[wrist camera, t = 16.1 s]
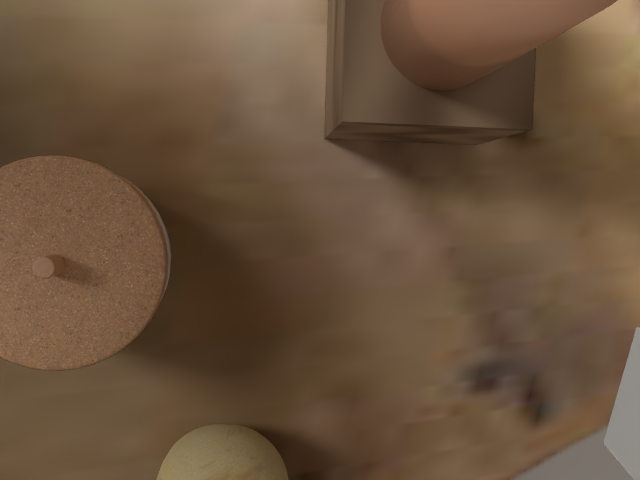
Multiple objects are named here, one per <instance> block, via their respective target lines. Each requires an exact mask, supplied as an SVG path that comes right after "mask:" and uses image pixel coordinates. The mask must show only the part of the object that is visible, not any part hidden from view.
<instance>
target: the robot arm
mask: <svg viewBox="0 0 640 480" xmlns="http://www.w3.org/2000/svg"><path fill="white" fill-rule="evenodd" d="M603 443H604V445H605V446H606V447H607V448H608V450H609V451H610V452H611V453H612V454H613V455H614V457H615V458H616V459H617V460H618V461H619V462H620V464H621V465H622V466H623V467H624V469H625V470H626V471H627V472H628V473H629V474H630V476H631V477H632V478H633V479H634V480H640V327H637V328H636V331H635V335H634V338H633V342H632V345H631V349H630V352H629V355H628V359H627V362H626V366H625V369H624V373H623V376H622V380H621V383H620V387H619V390H618V394H617V397H616V401H615V404H614V408H613V411H612V415H611V418H610V422H609V425H608V429H607V432H606V436H605V439H604V442H603Z"/></svg>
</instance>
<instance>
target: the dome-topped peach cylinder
mask: <svg viewBox="0 0 640 480" xmlns="http://www.w3.org/2000/svg"><path fill="white" fill-rule="evenodd" d="M616 1H617V0H386V1H385V4H384V6H383V11H382V15H381V36H382V41H383V45H384V48H385V51H386V53H387V55H388V57H389V59H390V61H391V62H392V64H393V65H394V66H395V68H396V69H397V70H398V71H399V72H400V73H401V74H402V75H403V76H404V77H405V78H407V79H408V80H409V81H411V82H413V83H414V84H416V85H418V86H421V87H423V88H426V89H430V90H436V91H450V90H456V89H460V88H463V87H465V86H467V85H470V84H472V83H473V82H475V81H477V80H479V79H481V78H482V77H484V76H486V75H488V74H490V73H491V72H493V71H495V70H497V69H498V68H500V67H502V66H504V65H506V64H507V63H509V62H511V61H513V60H515V59H516V58H518V57H520V56H522V55H524V54H525V53H527V52H529V51H531V50H532V49H534V48H536V47H538V46H540V45H541V44H543V43H545V42H547V41H549V40H550V39H552V38H554V37H556V36H557V35H559V34H561V33H563V32H565V31H566V30H568V29H570V28H572V27H574V26H575V25H577V24H579V23H581V22H582V21H584V20H586V19H588V18H590V17H591V16H593V15H595V14H597V13H599V12H600V11H602V10H604V9H605V8H607V7H609V6H610V5H612V4H613V3H615V2H616Z"/></svg>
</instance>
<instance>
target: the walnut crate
mask: <svg viewBox="0 0 640 480" xmlns="http://www.w3.org/2000/svg"><path fill="white" fill-rule="evenodd" d="M385 1H386V0H328V28H327V65H326V101H325V138H324V139H349V140H375V141H400V142H425V143H451V144H476V145H477V144H481V143H484V142H488V141H492V140H495V139H499V138H503V137H506V136H510V135H514V134H517V133H521V132H525V131H528V130H532V124H533V102H534V81H535V59H536V48H534V49H532V50H531V51H529V52H527V53H525V54H524V55H522V56H520V57H518V58H516V59H515V60H513V61H511V62H509V63H507V64H506V65H504V66H502V67H500V68H498V69H497V70H495V71H493V72H491V73H490V74H488V75H486V76H484V77H482V78H481V79H479V80H477V81H475V82H473V83H472V84H470V85H467V86H465V87H463V88H460V89H456V90H450V91H436V90H430V89H426V88H423V87H421V86H418V85H416V84H414V83H413V82H411V81H409V80H408V79H407V78H405V77H404V76H403V75H402V74H401V73H400V72H399V71H398V70H397V69H396V68H395V66H394V65H393V64H392V62H391V61H390V59H389V57H388V55H387V53H386V51H385V48H384V45H383V41H382V36H381V15H382V11H383V6H384V4H385Z"/></svg>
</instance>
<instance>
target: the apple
mask: <svg viewBox="0 0 640 480" xmlns="http://www.w3.org/2000/svg"><path fill="white" fill-rule="evenodd" d="M157 480H288V474H287V470H286V467H285V464H284V462H283V460H282V458H281V456H280V454H279V452H278V451H277V450H276V448H275V447H274V446H273V445H272V443H270V442H269V441H268V440H267V439H266V438H265V437H264V436H262V435H261V434H259V433H258V432H256V431H255V430H253V429H250V428H248V427H244V426H240V425H234V424H212V425H206V426H203V427H200V428H197V429H195V430H193V431H191V432H189V433H188V434H186V435H185V436H183V437H182V438H180V439H179V440H178V441H177V442H176V443H175V444H174V445H173V447H172V448H171V449H170V451H169V452H168V454H167V456H166V458H165V459H164V461H163V463H162V466H161V468H160V470H159V473H158V476H157Z"/></svg>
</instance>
